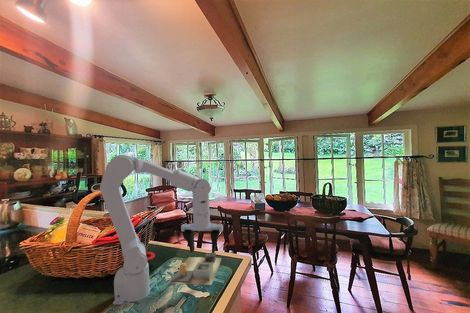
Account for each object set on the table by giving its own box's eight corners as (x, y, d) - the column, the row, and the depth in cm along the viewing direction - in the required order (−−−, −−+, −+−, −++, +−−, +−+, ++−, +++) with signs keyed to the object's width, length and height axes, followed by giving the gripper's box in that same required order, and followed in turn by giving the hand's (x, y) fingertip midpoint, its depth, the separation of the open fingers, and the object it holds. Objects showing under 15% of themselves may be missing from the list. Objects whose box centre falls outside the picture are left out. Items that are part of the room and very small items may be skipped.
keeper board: (170, 286, 73) (169, 276, 73) (188, 259, 91) (188, 251, 91) (211, 287, 71) (211, 277, 71) (222, 260, 89) (221, 252, 89)
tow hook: (147, 252, 100) (127, 260, 92) (147, 224, 100) (127, 229, 92) (158, 257, 95) (138, 266, 87) (158, 227, 95) (138, 233, 87)
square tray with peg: (171, 281, 74) (170, 267, 74) (178, 271, 80) (177, 258, 80) (189, 282, 73) (188, 268, 73) (195, 271, 79) (194, 259, 79)
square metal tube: (193, 279, 74) (193, 271, 74) (198, 270, 80) (197, 262, 80) (209, 280, 74) (209, 271, 74) (213, 271, 79) (213, 263, 79)
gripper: (224, 209, 79) (225, 246, 80) (185, 209, 81) (187, 245, 82) (219, 215, 72) (221, 256, 73) (178, 215, 74) (179, 254, 75)
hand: (203, 251), depth 77 cm, fingers open, 7 cm apart
